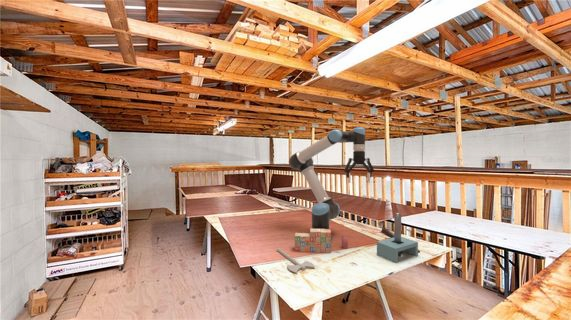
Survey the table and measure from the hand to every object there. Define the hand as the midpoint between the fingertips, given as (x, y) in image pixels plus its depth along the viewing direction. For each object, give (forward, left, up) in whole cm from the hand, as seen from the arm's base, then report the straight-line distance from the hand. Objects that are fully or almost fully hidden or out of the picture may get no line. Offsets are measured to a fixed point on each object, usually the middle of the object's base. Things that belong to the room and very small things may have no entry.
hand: (358, 182), depth 161 cm
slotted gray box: (+25, -4, -39) cm, 47 cm away
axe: (-50, -26, -40) cm, 69 cm away
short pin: (-14, -12, -39) cm, 43 cm away
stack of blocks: (-35, -14, -39) cm, 54 cm away
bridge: (+12, -26, -39) cm, 48 cm away
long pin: (+12, -26, -39) cm, 48 cm away
